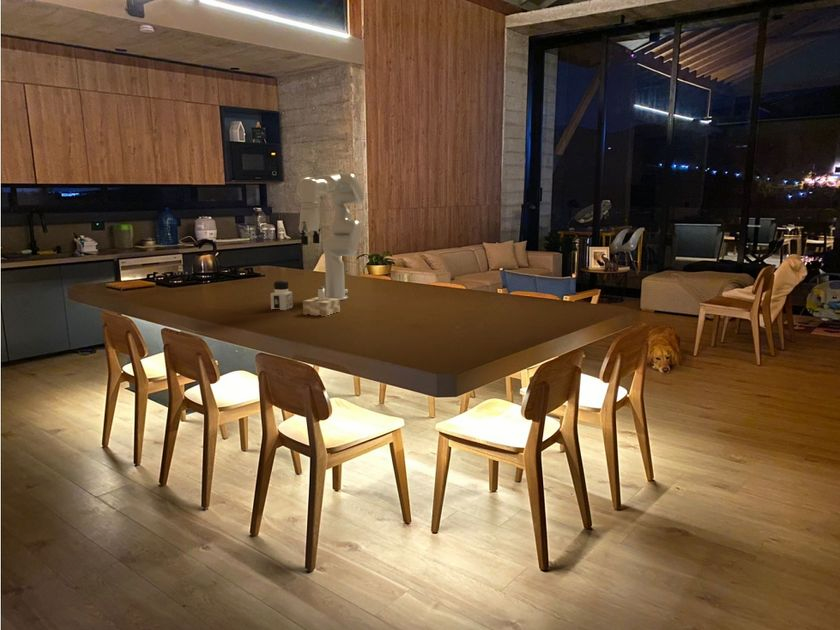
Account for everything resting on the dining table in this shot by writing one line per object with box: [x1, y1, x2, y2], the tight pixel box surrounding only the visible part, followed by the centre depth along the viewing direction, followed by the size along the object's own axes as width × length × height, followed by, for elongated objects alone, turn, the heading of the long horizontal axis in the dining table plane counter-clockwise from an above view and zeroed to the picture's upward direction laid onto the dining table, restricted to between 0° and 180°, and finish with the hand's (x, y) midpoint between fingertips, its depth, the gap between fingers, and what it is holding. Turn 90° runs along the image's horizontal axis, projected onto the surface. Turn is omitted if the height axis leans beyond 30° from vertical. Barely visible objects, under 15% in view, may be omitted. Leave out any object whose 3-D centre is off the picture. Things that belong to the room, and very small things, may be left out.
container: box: [270, 280, 294, 311], centre depth 297 cm, size 8×8×13 cm
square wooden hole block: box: [302, 296, 341, 317], centre depth 287 cm, size 12×12×6 cm
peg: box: [317, 285, 326, 301], centre depth 287 cm, size 3×3×12 cm
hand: (310, 243), depth 293 cm, fingers open, 9 cm apart
